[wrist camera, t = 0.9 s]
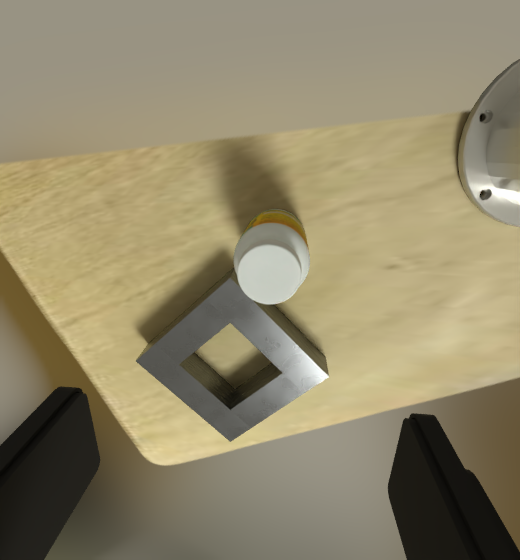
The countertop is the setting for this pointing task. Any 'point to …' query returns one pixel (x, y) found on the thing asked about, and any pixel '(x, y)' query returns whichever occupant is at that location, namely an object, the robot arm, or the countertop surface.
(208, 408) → the square hole block
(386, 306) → the countertop surface
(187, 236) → the countertop surface
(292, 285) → the supplement bottle
